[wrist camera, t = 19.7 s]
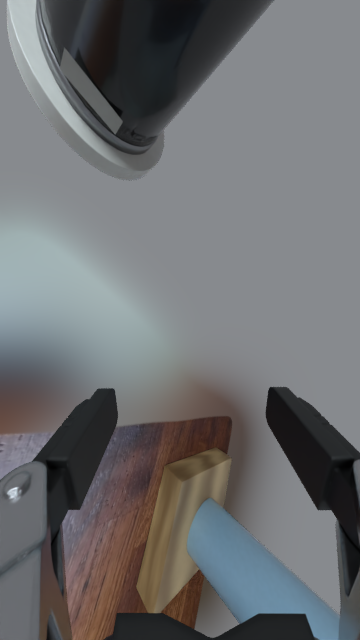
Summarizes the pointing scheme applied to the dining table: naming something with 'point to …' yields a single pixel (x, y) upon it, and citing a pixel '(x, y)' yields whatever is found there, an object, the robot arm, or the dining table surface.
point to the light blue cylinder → (252, 573)
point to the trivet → (178, 524)
